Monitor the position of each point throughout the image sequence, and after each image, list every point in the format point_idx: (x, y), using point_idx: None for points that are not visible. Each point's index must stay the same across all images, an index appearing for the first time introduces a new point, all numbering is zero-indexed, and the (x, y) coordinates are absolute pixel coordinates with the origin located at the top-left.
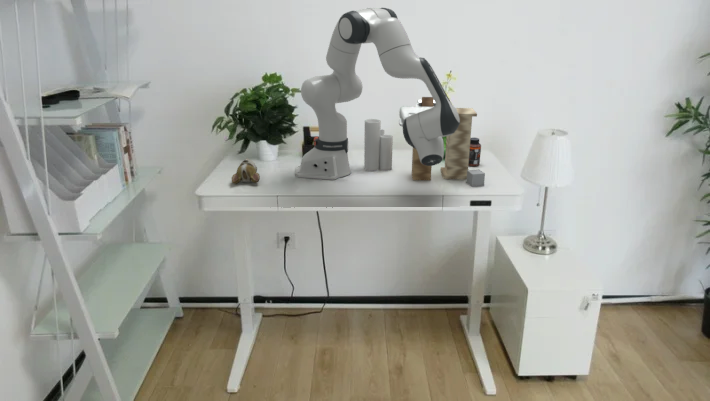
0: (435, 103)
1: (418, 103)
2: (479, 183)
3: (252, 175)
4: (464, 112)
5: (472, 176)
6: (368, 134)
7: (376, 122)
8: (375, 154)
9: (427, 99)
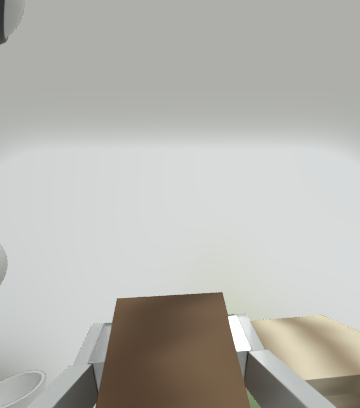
0: (252, 360)
1: (68, 386)
2: None
3: None
4: (353, 353)
5: None
6: None
7: (7, 404)
8: None
9: (167, 325)
